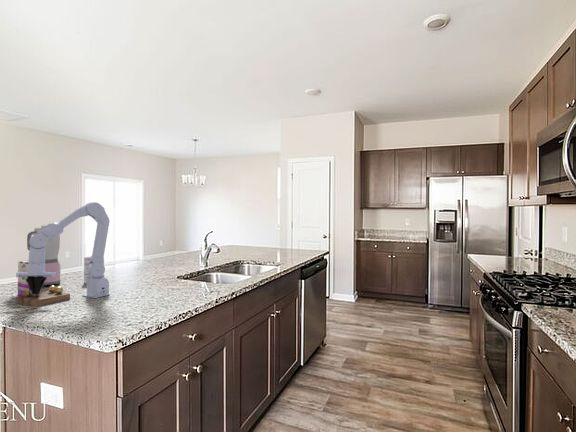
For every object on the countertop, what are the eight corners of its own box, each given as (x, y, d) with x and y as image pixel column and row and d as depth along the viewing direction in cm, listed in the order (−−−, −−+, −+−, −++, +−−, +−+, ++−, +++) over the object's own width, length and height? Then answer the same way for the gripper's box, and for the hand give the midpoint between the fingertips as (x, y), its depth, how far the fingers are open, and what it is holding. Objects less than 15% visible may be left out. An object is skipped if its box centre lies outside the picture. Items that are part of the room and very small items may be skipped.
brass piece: (64, 293, 150) (64, 286, 150) (57, 295, 147) (57, 287, 147) (60, 292, 151) (60, 285, 151) (53, 294, 149) (53, 287, 149)
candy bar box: (42, 297, 153) (42, 261, 153) (29, 299, 148) (30, 262, 148) (29, 294, 158) (29, 259, 158) (16, 296, 154) (17, 260, 154)
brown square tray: (69, 299, 150) (70, 293, 150) (34, 306, 137) (34, 300, 137) (51, 295, 156) (51, 290, 156) (15, 302, 143) (15, 296, 143)
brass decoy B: (58, 292, 152) (58, 285, 152) (50, 293, 149) (50, 286, 149) (54, 291, 154) (54, 284, 154) (46, 292, 151) (46, 285, 151)
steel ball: (41, 287, 145) (38, 289, 146) (32, 289, 142) (29, 290, 144) (42, 295, 144) (39, 296, 146) (33, 296, 142) (30, 298, 143)
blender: (51, 281, 186) (52, 224, 186) (65, 284, 181) (66, 225, 181) (19, 287, 171) (20, 225, 171) (34, 289, 167) (34, 226, 166)
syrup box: (93, 283, 184) (94, 257, 184) (83, 283, 184) (83, 257, 184) (99, 281, 190) (100, 255, 190) (89, 281, 190) (90, 255, 190)
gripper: (60, 261, 148) (58, 292, 148) (24, 261, 146) (22, 292, 146) (51, 263, 141) (50, 295, 141) (13, 263, 139) (11, 295, 139)
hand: (35, 294), depth 143 cm, fingers closed, pressing on steel ball
